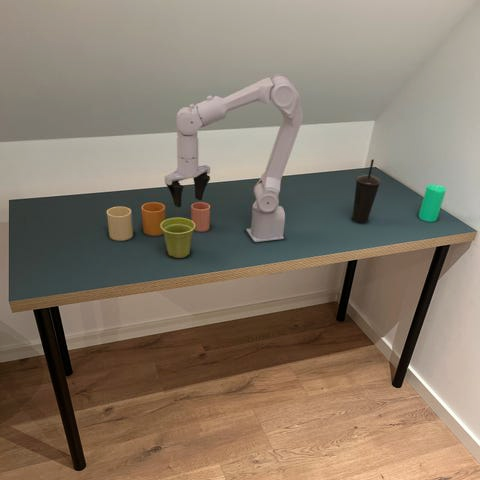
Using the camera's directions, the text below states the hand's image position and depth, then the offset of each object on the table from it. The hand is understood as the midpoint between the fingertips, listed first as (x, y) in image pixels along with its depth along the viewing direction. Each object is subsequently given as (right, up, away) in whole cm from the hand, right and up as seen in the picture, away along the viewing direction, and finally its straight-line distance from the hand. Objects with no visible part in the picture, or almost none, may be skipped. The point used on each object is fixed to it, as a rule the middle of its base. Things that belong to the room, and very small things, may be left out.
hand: (188, 202), depth 146 cm
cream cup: (-20, -9, +4) cm, 22 cm away
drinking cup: (+54, -1, +20) cm, 58 cm away
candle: (+78, 0, +25) cm, 82 cm away
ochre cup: (-11, -7, +7) cm, 15 cm away
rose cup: (+3, -5, +10) cm, 12 cm away
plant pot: (-2, -15, -3) cm, 15 cm away
